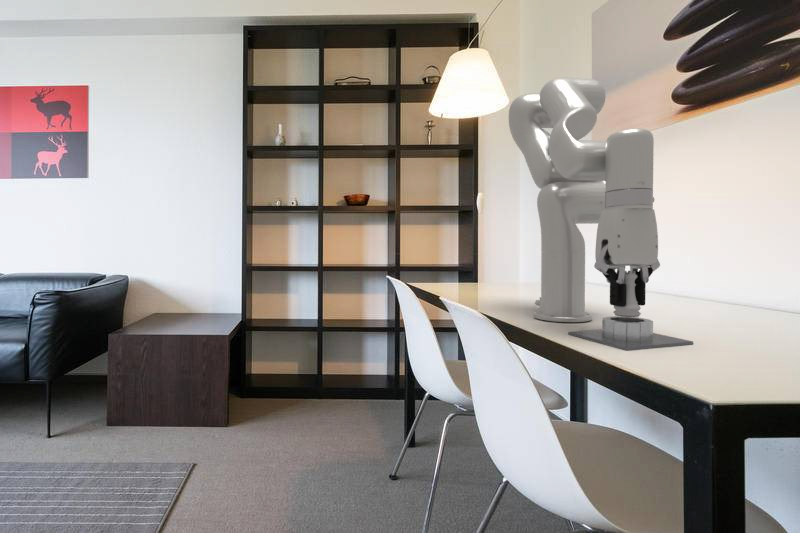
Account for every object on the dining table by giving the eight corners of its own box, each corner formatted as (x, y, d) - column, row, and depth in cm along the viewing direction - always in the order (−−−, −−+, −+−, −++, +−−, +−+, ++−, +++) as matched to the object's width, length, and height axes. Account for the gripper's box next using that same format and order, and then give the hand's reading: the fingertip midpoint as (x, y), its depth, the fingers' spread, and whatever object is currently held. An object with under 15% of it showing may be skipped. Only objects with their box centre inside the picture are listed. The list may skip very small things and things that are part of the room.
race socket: (568, 334, 82) (568, 316, 82) (627, 329, 86) (627, 312, 86) (626, 350, 69) (626, 328, 68) (693, 344, 73) (693, 323, 73)
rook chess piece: (644, 317, 75) (645, 271, 74) (616, 316, 76) (617, 271, 75) (636, 314, 79) (636, 270, 79) (609, 313, 80) (610, 270, 80)
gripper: (647, 205, 82) (646, 301, 83) (574, 203, 78) (574, 304, 78) (683, 201, 75) (681, 305, 76) (606, 198, 71) (605, 310, 71)
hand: (627, 304), depth 77 cm, fingers closed on rook chess piece, 3 cm apart
